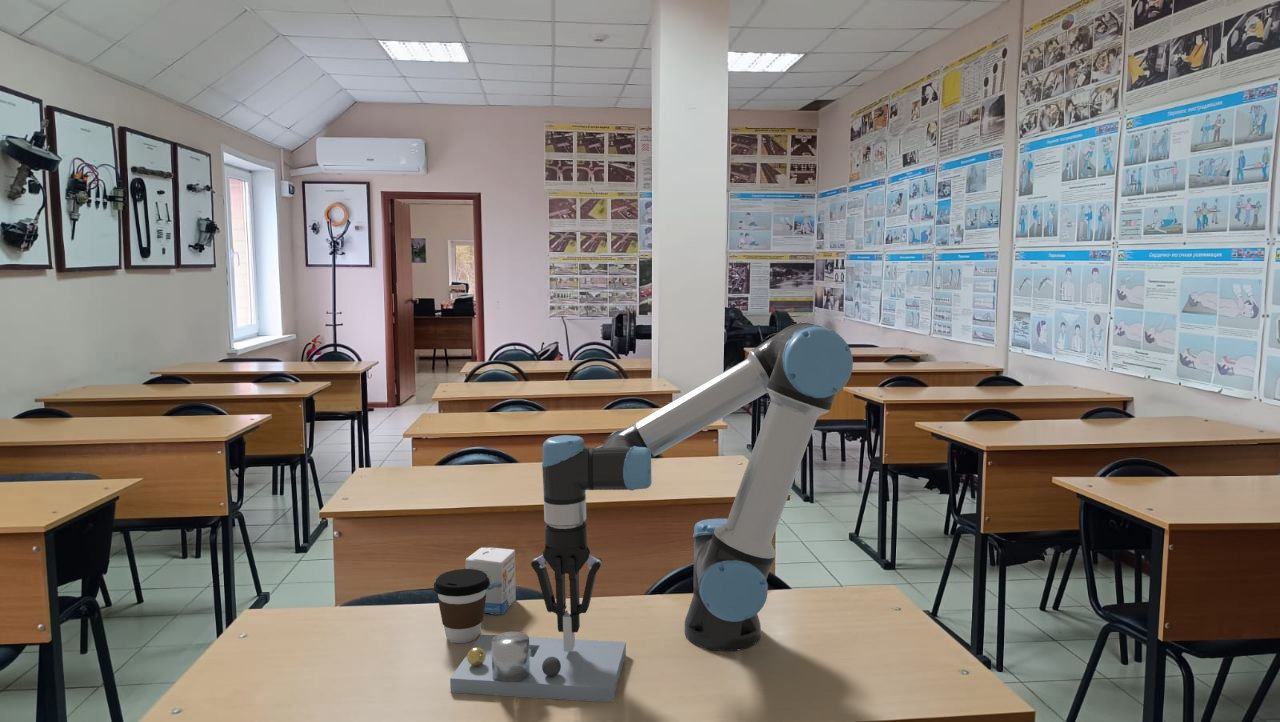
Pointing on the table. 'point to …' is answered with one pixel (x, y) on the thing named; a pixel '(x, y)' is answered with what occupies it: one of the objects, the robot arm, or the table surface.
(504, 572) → the ink box
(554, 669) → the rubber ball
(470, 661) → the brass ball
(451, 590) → the coffee cup
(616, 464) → the robot arm
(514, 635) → the shiny silver cylinder
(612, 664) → the plate
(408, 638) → the table surface
